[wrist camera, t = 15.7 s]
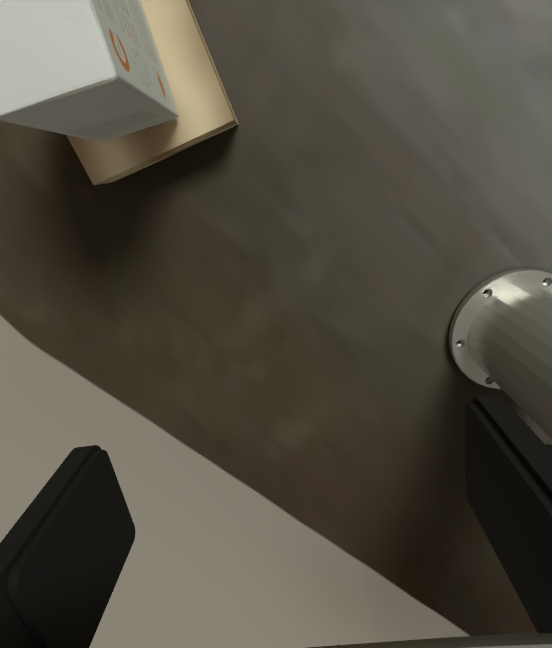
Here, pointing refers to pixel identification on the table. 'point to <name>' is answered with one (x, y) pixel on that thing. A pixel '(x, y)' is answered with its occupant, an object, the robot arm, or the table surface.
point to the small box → (81, 68)
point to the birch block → (188, 93)
